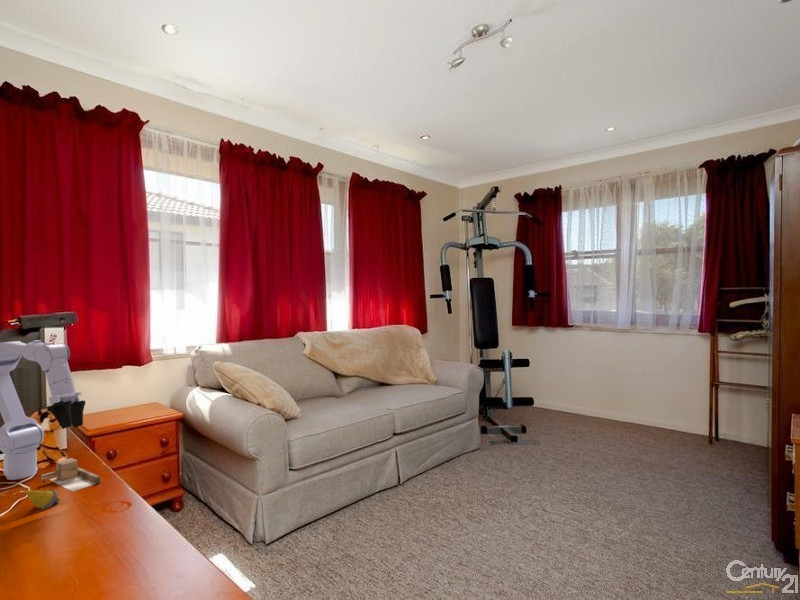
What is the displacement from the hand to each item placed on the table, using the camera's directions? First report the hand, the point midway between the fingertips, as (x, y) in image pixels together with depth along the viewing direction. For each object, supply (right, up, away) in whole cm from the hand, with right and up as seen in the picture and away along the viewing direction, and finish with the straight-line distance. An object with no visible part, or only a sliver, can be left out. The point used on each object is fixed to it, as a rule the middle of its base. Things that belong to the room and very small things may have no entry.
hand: (73, 426), depth 128 cm
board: (-1, -18, +3) cm, 18 cm away
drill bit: (+2, -18, -14) cm, 23 cm away
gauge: (-7, -17, +4) cm, 19 cm away
